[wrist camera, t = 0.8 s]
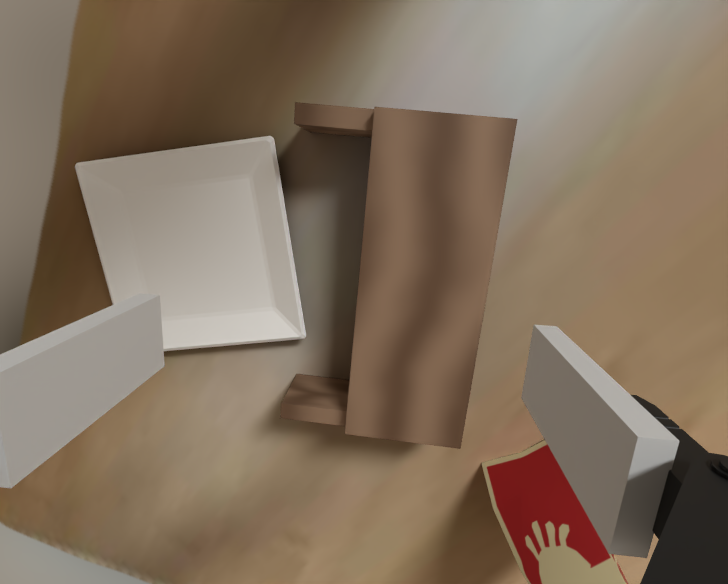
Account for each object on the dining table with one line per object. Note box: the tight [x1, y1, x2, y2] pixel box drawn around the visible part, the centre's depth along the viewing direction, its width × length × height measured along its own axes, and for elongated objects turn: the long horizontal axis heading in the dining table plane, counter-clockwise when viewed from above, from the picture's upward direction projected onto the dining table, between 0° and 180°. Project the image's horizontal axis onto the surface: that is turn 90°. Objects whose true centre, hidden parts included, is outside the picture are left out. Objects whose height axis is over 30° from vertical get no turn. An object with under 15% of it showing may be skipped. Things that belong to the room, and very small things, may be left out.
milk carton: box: [481, 440, 628, 584], centre depth 36 cm, size 9×9×20 cm
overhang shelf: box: [281, 102, 517, 449], centre depth 37 cm, size 16×26×7 cm, turn 175°
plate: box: [75, 136, 306, 351], centre depth 41 cm, size 19×19×2 cm
